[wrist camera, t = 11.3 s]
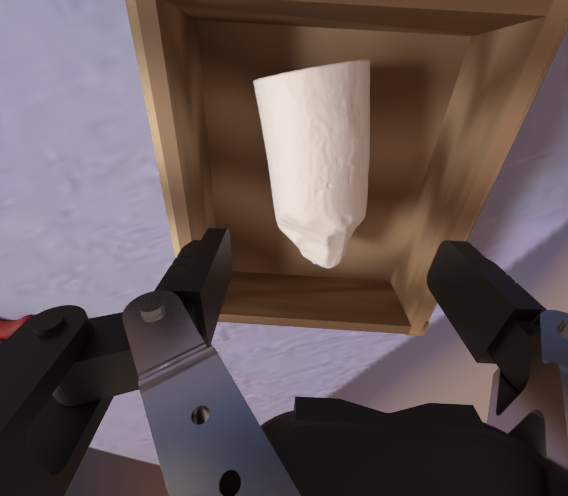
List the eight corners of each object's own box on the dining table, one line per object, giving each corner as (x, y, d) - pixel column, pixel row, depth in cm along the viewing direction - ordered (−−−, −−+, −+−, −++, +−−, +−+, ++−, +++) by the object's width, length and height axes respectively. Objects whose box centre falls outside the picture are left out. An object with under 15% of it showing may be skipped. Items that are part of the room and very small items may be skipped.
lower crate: (174, -13, 15) (110, -63, 10) (495, 7, 15) (601, -35, 10) (208, 272, 26) (186, 320, 21) (397, 284, 26) (423, 336, 21)
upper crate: (185, 3, 15) (128, -38, 10) (483, 21, 15) (581, -11, 10) (213, 271, 25) (192, 319, 20) (393, 283, 25) (419, 334, 20)
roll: (285, 247, 22) (282, 292, 18) (258, 80, 16) (242, 78, 11) (359, 240, 22) (376, 284, 17) (359, 62, 16) (387, 53, 11)
